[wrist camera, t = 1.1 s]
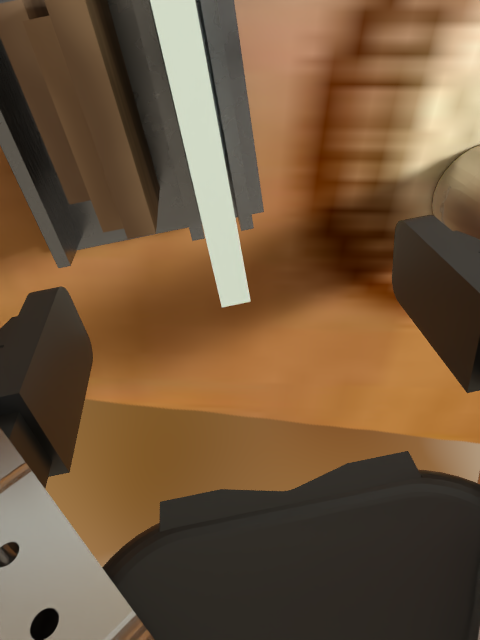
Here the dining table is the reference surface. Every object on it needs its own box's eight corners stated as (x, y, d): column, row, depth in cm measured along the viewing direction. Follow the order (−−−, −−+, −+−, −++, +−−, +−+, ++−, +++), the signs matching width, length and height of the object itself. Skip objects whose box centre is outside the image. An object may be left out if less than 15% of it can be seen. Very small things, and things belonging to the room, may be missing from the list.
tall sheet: (177, -50, 29) (178, -92, 15) (223, 186, 39) (250, 301, 24) (153, -45, 29) (130, -82, 15) (204, 190, 39) (221, 307, 24)
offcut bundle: (103, -14, 30) (79, -17, 23) (159, 188, 38) (156, 233, 31) (15, 4, 30) (-37, 7, 23) (90, 202, 38) (71, 250, 31)
